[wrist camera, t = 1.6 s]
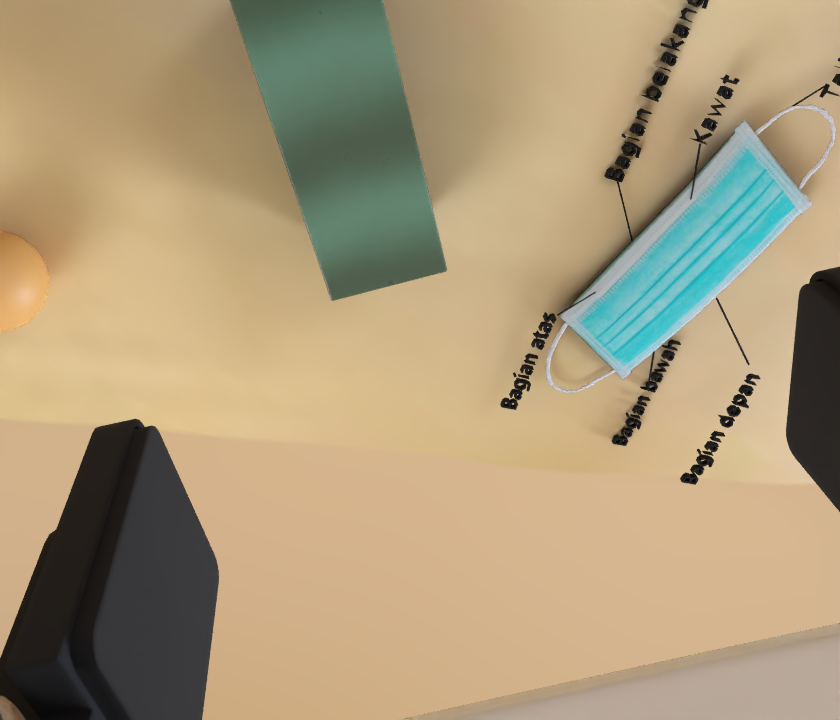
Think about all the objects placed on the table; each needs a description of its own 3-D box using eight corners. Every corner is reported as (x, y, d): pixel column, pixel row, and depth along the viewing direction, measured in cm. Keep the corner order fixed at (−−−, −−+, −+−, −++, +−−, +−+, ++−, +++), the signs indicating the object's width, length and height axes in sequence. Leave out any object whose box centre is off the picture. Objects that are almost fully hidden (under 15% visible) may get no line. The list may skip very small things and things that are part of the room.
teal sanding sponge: (240, -29, 28) (226, -9, 24) (363, -63, 28) (370, -49, 24) (330, 246, 34) (331, 301, 30) (432, 220, 34) (447, 271, 30)
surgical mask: (691, 503, 39) (501, 472, 36) (658, 447, 42) (484, 415, 40) (954, 84, 29) (717, -1, 26) (882, 57, 32) (667, -19, 30)
